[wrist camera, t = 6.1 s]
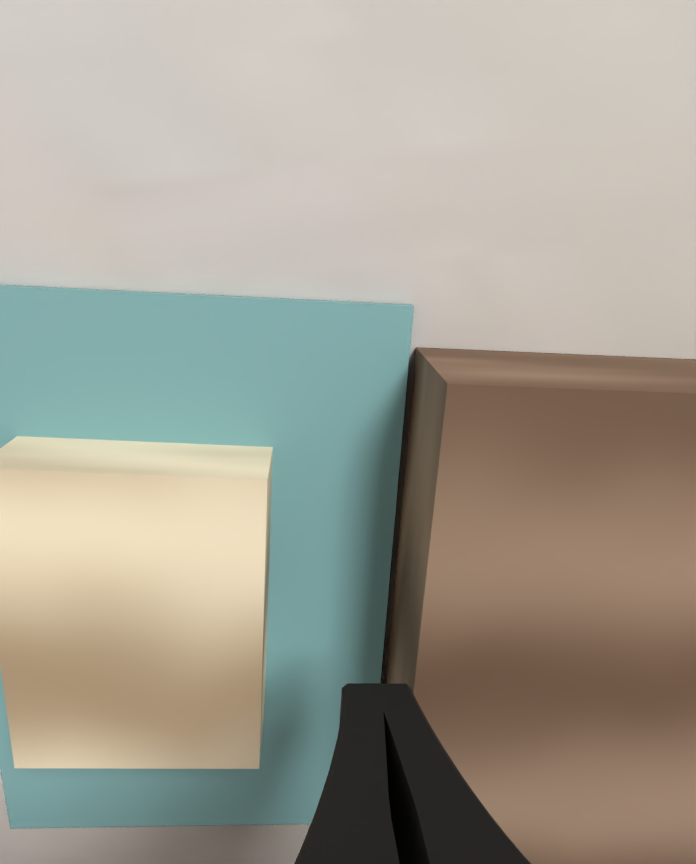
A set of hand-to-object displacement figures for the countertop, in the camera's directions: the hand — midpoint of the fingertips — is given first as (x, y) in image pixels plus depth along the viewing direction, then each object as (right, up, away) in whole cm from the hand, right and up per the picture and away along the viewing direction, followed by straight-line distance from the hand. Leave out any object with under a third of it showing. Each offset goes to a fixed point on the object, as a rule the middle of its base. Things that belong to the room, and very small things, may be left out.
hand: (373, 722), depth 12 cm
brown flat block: (+6, +1, +5) cm, 7 cm away
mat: (-5, +2, +4) cm, 6 cm away
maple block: (-6, +1, +1) cm, 6 cm away
